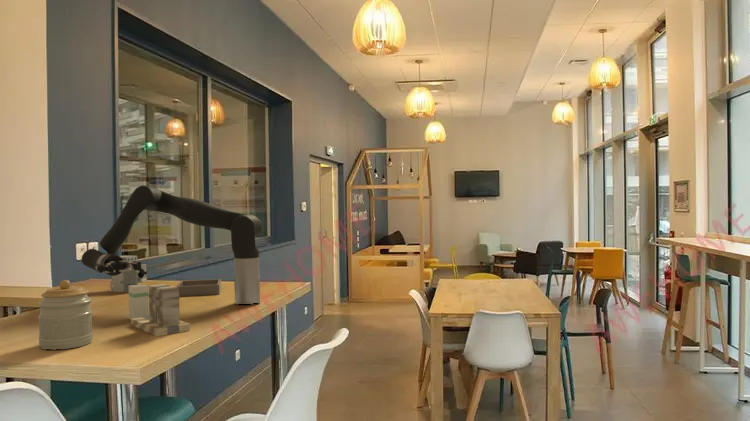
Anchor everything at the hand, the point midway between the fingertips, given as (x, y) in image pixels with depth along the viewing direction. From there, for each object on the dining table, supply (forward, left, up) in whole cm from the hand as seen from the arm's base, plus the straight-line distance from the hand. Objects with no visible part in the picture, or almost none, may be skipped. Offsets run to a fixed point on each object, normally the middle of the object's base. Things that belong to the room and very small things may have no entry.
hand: (125, 268), depth 191 cm
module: (-6, +10, -16) cm, 19 cm away
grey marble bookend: (-15, +26, -16) cm, 33 cm away
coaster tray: (-21, -40, -16) cm, 48 cm away
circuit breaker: (+9, -53, -16) cm, 56 cm away
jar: (+7, +40, -16) cm, 43 cm away
